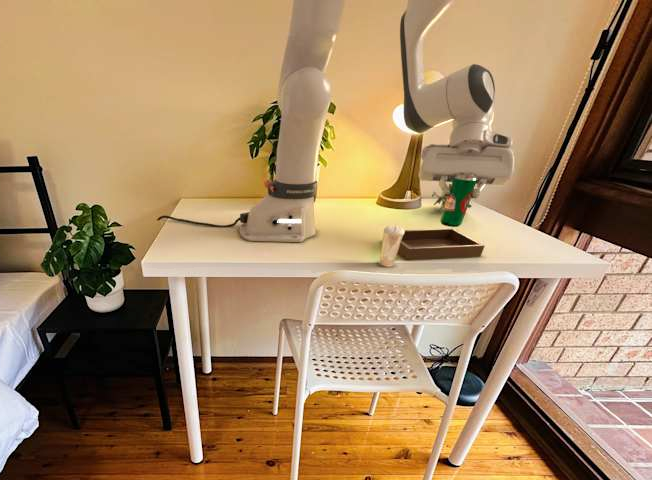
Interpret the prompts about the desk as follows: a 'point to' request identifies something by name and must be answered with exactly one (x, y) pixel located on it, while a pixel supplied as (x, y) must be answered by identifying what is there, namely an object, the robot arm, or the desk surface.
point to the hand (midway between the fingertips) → (460, 196)
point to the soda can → (458, 199)
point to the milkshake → (390, 244)
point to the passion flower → (445, 200)
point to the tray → (438, 245)
